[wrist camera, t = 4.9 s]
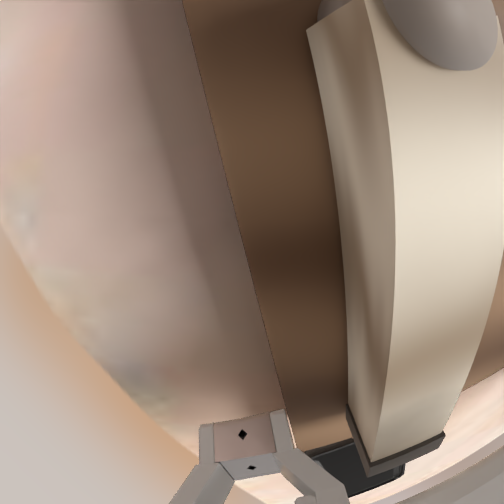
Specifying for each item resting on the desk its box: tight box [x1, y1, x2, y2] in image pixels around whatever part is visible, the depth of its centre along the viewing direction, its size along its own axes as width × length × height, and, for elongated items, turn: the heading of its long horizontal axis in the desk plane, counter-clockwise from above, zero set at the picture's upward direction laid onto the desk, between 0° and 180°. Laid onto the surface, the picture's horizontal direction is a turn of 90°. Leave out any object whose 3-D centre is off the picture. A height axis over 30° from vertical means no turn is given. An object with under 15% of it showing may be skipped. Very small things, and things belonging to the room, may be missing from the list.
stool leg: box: [306, 0, 504, 478], centre depth 7 cm, size 15×3×3 cm, turn 12°
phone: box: [304, 438, 405, 498], centre depth 22 cm, size 8×1×15 cm
